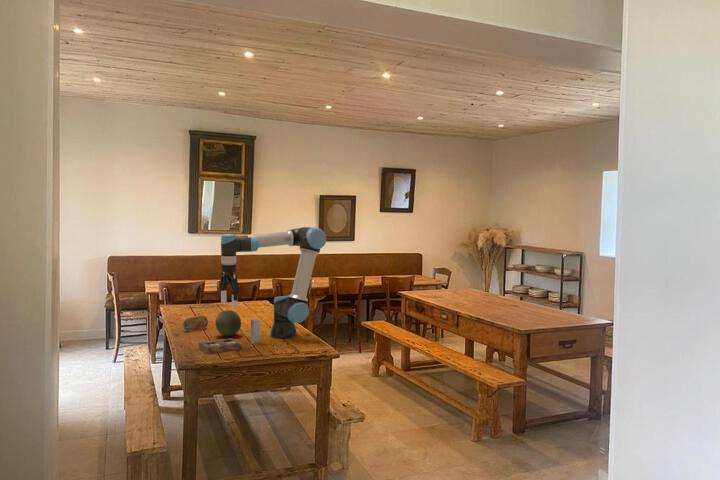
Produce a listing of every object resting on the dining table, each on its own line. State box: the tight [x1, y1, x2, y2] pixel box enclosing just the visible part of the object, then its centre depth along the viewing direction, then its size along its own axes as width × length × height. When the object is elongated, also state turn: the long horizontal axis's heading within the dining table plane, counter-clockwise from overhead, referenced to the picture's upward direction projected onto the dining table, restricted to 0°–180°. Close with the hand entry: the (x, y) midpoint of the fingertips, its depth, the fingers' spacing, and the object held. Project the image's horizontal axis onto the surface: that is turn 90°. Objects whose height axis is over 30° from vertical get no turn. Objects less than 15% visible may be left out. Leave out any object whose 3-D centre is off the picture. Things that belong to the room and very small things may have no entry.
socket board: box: [198, 337, 243, 355], centre depth 271 cm, size 18×13×3 cm
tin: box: [182, 315, 209, 333], centre depth 311 cm, size 15×3×8 cm, turn 137°
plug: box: [250, 318, 261, 345], centre depth 284 cm, size 3×3×13 cm
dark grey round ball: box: [215, 309, 242, 337], centre depth 297 cm, size 14×14×15 cm
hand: (229, 304), depth 270 cm, fingers open, 13 cm apart
